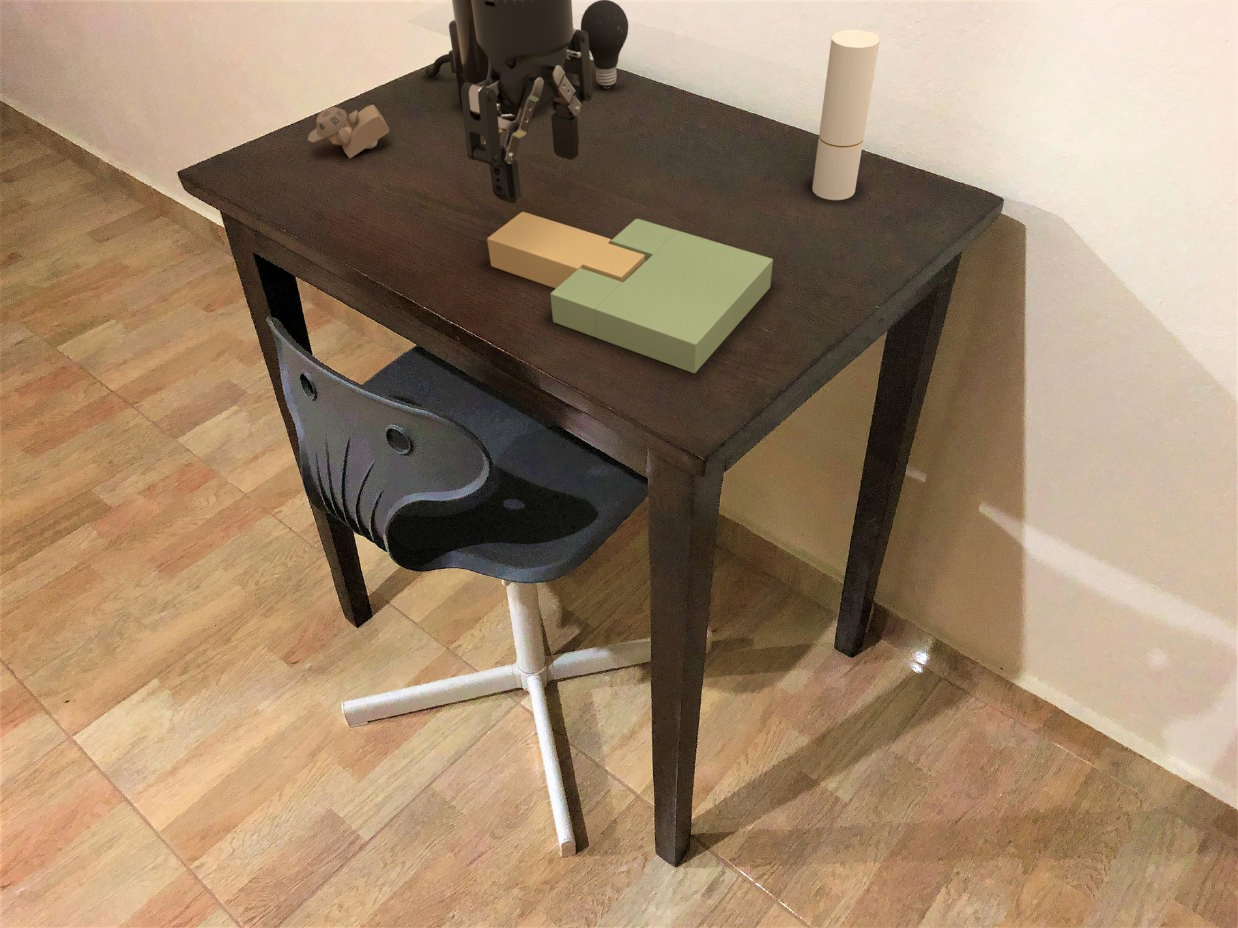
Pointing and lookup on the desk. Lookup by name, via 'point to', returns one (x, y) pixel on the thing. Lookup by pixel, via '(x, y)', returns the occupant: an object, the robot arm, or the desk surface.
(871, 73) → the tube
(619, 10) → the light bulb
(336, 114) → the toy character
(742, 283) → the base pad
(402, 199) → the desk surface
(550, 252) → the loose pad
